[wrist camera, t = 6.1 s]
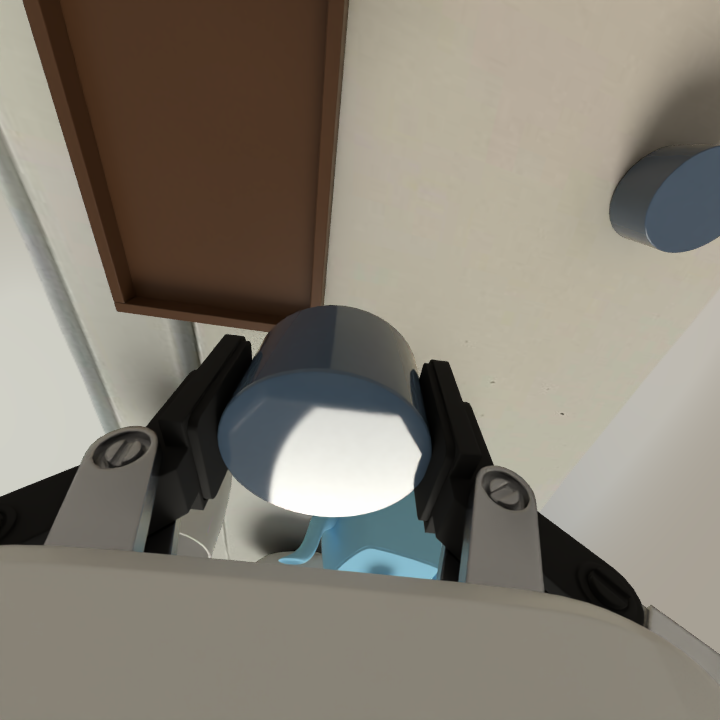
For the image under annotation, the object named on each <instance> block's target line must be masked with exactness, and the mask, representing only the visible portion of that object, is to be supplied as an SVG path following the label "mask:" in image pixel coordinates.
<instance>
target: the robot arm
mask: <svg viewBox="0 0 720 720" xmlns="http://www.w3.org/2000/svg"><path fill="white" fill-rule="evenodd" d="M251 361H252V350H251V343H250V341H246V339H245V337H244V336H237V335H229V334H226V335H224V337H223V338H222V339H221V340H220V342H219V343H218V344H217V345H216V347H215V348H214V349H213V351H212V352H211V353H210V354H209V356H208V357H207V358H206V359H205V361H204V362H203V363H202V364H201V366H200V367H199V368H198V369H197V370H194V371H192V372H191V373H189V375H188V376H187V377H186V378H185V379H184V381H183V382H182V383H181V384H180V386H179V387H178V388H177V389H176V391H175V392H174V393H173V394H172V395H171V397H170V398H169V399H168V400H167V402H166V403H165V404H164V405H163V407H162V408H161V409H160V410H159V411H158V413H157V414H156V415H155V416H154V418H153V419H152V420H151V421H150V423H149V424H148V425H147V426H146V427H142V426H129V427H124V428H120V429H117V430H114V431H112V432H109V433H107V434H105V435H104V436H102V437H100V438H99V439H97V440H96V441H95V442H94V443H93V444H92V445H91V446H90V447H89V449H88V450H87V451H86V453H85V455H84V457H83V459H82V462H81V464H80V465H79V466H76V467H74V468H71V469H69V470H66V471H64V472H61V473H59V474H56V475H54V476H51V477H48V478H46V479H43V480H41V481H38V482H36V483H34V484H31V485H28V486H26V487H23V488H21V489H18V490H16V491H13V492H11V493H9V494H6V495H3V496H1V497H0V720H720V654H719V653H717V652H716V651H714V650H713V649H712V648H710V647H709V646H707V645H706V644H705V643H703V642H702V641H701V640H699V639H698V638H696V637H695V636H694V635H692V634H691V633H689V632H688V631H687V630H685V629H684V628H683V627H681V626H679V625H678V624H677V623H676V622H674V621H673V620H671V619H670V618H669V617H667V616H666V615H665V614H663V613H662V612H660V611H659V610H658V609H656V608H655V607H653V606H652V605H650V606H649V607H647V608H646V607H644V606H643V605H642V604H641V601H640V599H639V597H638V596H637V594H636V592H635V591H634V589H633V588H632V587H631V585H630V584H629V583H628V582H627V581H626V579H625V578H624V577H623V576H622V575H621V574H620V573H618V572H617V571H616V570H615V569H614V568H613V567H611V566H610V565H609V564H607V563H606V562H605V561H603V560H602V559H601V558H599V557H598V556H597V555H595V554H594V553H593V552H591V551H590V550H589V549H587V548H586V547H585V546H583V545H582V544H580V543H579V542H578V541H576V540H575V539H574V538H572V537H571V536H570V535H568V534H567V533H566V532H564V531H563V530H562V529H560V528H559V527H558V526H556V525H555V524H554V523H552V522H551V521H549V520H548V519H547V518H546V517H544V516H543V515H541V514H540V513H539V512H538V511H537V506H536V499H535V495H534V493H533V491H532V489H531V488H530V486H529V485H528V484H527V482H526V481H525V480H524V479H523V478H522V477H520V476H519V475H518V474H516V473H515V472H513V471H511V470H509V469H507V468H504V467H500V466H494V465H493V462H492V459H491V457H490V454H489V452H488V449H487V446H486V444H485V441H484V439H483V436H482V433H481V431H480V428H479V426H478V423H477V420H476V418H475V415H474V413H473V410H472V407H471V406H470V404H469V403H468V402H463V401H462V398H461V395H460V392H459V390H458V387H457V384H456V381H455V378H454V376H453V373H452V370H451V367H450V365H449V362H446V361H438V360H430V362H429V364H428V363H424V365H423V368H422V371H421V375H420V378H419V380H420V385H421V390H422V395H423V399H424V404H425V409H426V414H427V419H428V424H429V429H430V433H431V439H432V447H433V448H432V456H431V459H430V462H429V465H428V468H427V471H426V473H425V476H424V478H423V480H422V481H421V483H420V484H419V485H418V486H417V487H416V488H415V489H414V495H415V503H416V511H417V518H418V520H421V521H423V522H424V529H425V533H433V534H435V535H436V538H437V539H438V540H439V541H440V542H441V543H442V547H441V553H440V559H439V565H438V571H437V577H436V580H432V579H422V578H412V577H402V576H392V575H382V574H372V573H362V572H351V571H341V570H330V569H320V568H309V567H299V566H288V565H277V564H267V563H256V562H245V561H234V560H223V559H212V558H201V557H190V556H178V555H177V548H178V541H179V533H180V526H181V517H182V516H184V515H186V514H187V513H189V511H190V509H194V510H204V508H205V506H206V504H207V502H208V500H209V499H214V498H215V497H216V495H217V493H218V491H219V489H220V487H221V484H222V482H223V480H224V478H225V475H226V473H227V471H228V468H227V467H226V465H225V464H224V461H223V459H222V457H221V455H220V451H219V448H218V440H217V431H218V423H219V420H220V417H221V414H222V413H223V411H224V409H225V407H226V405H227V404H228V402H229V400H230V398H231V397H232V395H233V393H234V391H235V389H236V388H237V386H238V384H239V382H240V381H241V379H242V377H243V375H244V374H245V372H246V370H247V368H248V367H249V365H250V363H251Z"/></svg>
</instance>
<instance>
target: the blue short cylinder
mask: <svg viewBox="0 0 720 720" xmlns="http://www.w3.org/2000/svg"><path fill="white" fill-rule="evenodd" d="M217 440H218V448H219V451H220V455H221V457H222V459H223V461H224V464H225V465H226V467H227V468H228V470H229V471H230V473H231V474H232V475H233V476H234V477H235V479H236V480H237V481H238V482H239V483H240V484H242V485H243V486H244V487H245V488H246V489H247V490H249V491H250V492H252V493H253V494H254V495H256V496H258V497H259V498H261V499H263V500H265V501H267V502H269V503H271V504H273V505H275V506H278V507H281V508H283V509H286V510H290V511H293V512H296V513H301V514H306V515H312V516H320V517H349V516H357V515H363V514H368V513H371V512H375V511H378V510H381V509H384V508H387V507H389V506H391V505H393V504H395V503H397V502H399V501H400V500H402V499H403V498H405V497H406V496H407V495H409V494H410V493H411V492H412V491H414V489H415V488H416V487H417V486H418V485H419V484H420V483H421V481H422V480H423V478H424V476H425V473H426V471H427V468H428V465H429V462H430V459H431V456H432V448H433V447H432V439H431V433H430V429H429V424H428V419H427V414H426V409H425V404H424V399H423V395H422V390H421V385H420V380H419V375H418V370H417V366H416V361H415V358H414V355H413V353H412V351H411V349H410V346H409V345H408V343H407V342H406V340H405V339H404V338H403V336H402V335H401V334H400V333H399V332H398V331H397V330H396V329H395V328H394V327H392V326H391V325H390V324H389V323H387V322H386V321H384V320H383V319H381V318H379V317H378V316H376V315H373V314H371V313H369V312H367V311H363V310H360V309H357V308H353V307H347V306H337V305H327V306H317V307H312V308H307V309H304V310H301V311H298V312H296V313H294V314H292V315H290V316H288V317H286V318H285V319H283V320H282V321H280V322H279V323H278V324H277V325H275V326H274V327H273V328H272V329H271V330H270V332H269V333H268V334H267V335H266V337H265V338H264V340H263V342H262V344H261V345H260V347H259V349H258V351H257V353H256V354H255V356H254V358H253V360H252V361H251V363H250V365H249V367H248V368H247V370H246V372H245V374H244V375H243V377H242V379H241V381H240V382H239V384H238V386H237V388H236V389H235V391H234V393H233V395H232V397H231V398H230V400H229V402H228V404H227V405H226V407H225V409H224V411H223V413H222V414H221V417H220V420H219V423H218V431H217Z"/></svg>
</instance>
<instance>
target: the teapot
mask: <svg viewBox="0 0 720 720" xmlns="http://www.w3.org/2000/svg"><path fill="white" fill-rule="evenodd" d="M321 537H322V543H321V544H322V561H323V569H330V570H341V571H351V572H362V573H372V574H382V575H392V576H402V577H412V578H422V579H432V580H436V577H437V571H438V565H439V559H440V553H441V547H442V543H441V542H440V541H439V540H438V539H437V538H436V535H435V534H433V533H425V529H424V522H423V521H421V520H418V518H417V511H416V503H415V495H414V491H412V492H411V493H410V494H409V495H407V496H406V497H405V498H403V499H402V500H400V501H399V502H397V503H395V504H393V505H391V506H389V507H387V508H384V509H381V510H378V511H375V512H371V513H368V514H363V515H357V516H349V517H320V516H312V518H311V521H310V523H309V526H308V529H307V532H306V535H305V538H304V540H303V542H302V544H301V546H300V547H299V548H298V549H297V550H296V551H295V552H294V553H292V554H290V555H288V556H285V557H282V558H280V559H279V560H278V561H279V562H281V563H284V564H293V565H298V564H303V563H305V562H307V561H308V560H310V559H311V558H312V556H313V555H314V553H315V551H316V549H317V547H318V544H319V542H320V539H321Z"/></svg>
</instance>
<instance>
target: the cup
mask: <svg viewBox="0 0 720 720" xmlns="http://www.w3.org/2000/svg"><path fill="white" fill-rule="evenodd" d="M231 482H232V474H231V473H230V471H229V470H228V471H227V473H226V475H225V478H224V480H223V482H222V484H221V487H220V489H219V491H218V493H217V495H216V497H215V498H214V499H209V500H208V502H207V504H206V506H205V508H204V510H194V509H190V511H189V513H187V514H186V515H184V516H182V517H181V526H180V533H179V541H178V548H177V555H178V556H190V557H201V558H211V557H212V554H213V551H214V548H215V545H216V542H217V539H218V536H219V533H220V530H221V527H222V524H223V521H224V517H225V513H226V508H227V504H228V499H229V495H230V490H231Z"/></svg>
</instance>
